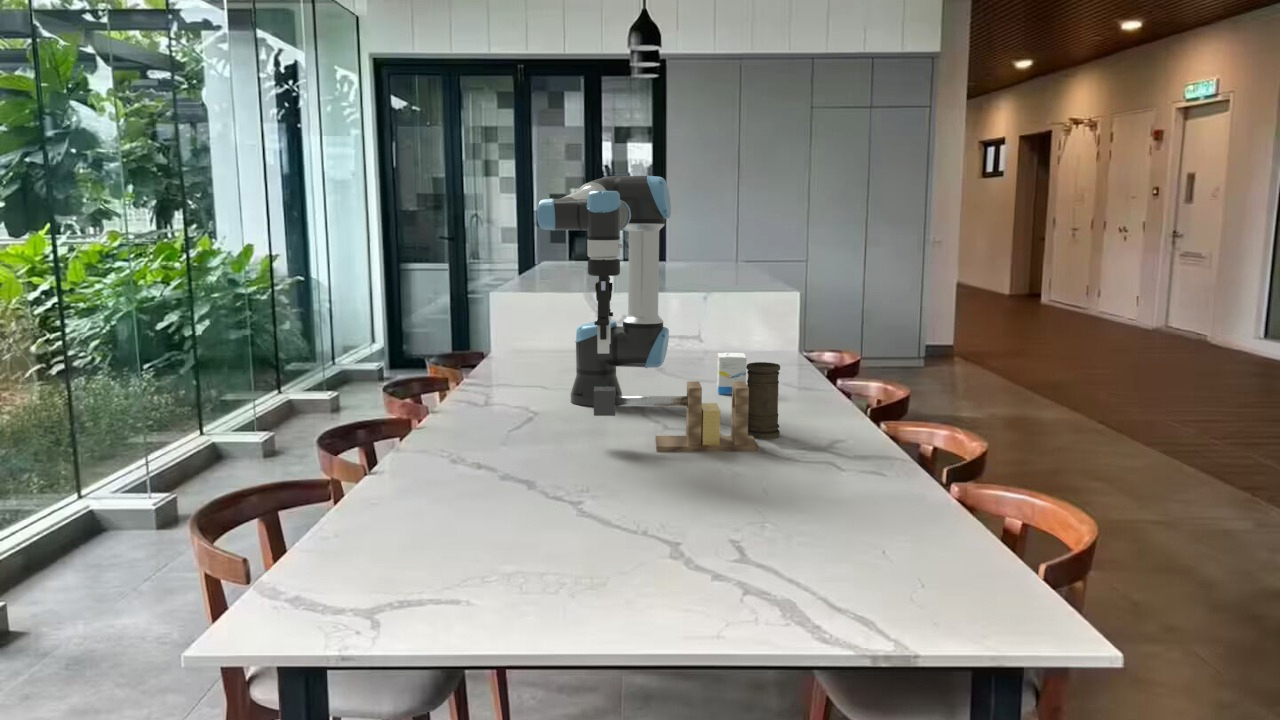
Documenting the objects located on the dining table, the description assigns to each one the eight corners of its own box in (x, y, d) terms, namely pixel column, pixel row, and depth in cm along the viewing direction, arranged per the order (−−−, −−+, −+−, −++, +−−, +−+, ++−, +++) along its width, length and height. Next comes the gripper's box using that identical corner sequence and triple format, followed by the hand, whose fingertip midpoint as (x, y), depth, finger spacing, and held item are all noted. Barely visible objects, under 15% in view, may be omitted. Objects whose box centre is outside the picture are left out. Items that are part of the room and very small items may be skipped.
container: (778, 440, 227) (781, 368, 224) (742, 438, 229) (743, 367, 226) (780, 431, 236) (782, 362, 233) (745, 429, 238) (747, 360, 235)
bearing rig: (656, 451, 217) (657, 389, 214) (655, 440, 227) (655, 380, 224) (758, 451, 217) (760, 389, 215) (752, 440, 227) (754, 380, 224)
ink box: (746, 395, 279) (747, 357, 277) (718, 394, 280) (718, 356, 278) (743, 389, 288) (744, 352, 286) (716, 389, 288) (717, 352, 286)
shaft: (593, 415, 218) (593, 390, 217) (594, 410, 223) (594, 386, 222) (697, 415, 218) (697, 391, 217) (695, 411, 223) (696, 386, 222)
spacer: (702, 445, 218) (703, 410, 216) (699, 436, 226) (700, 403, 224) (719, 445, 218) (720, 410, 216) (716, 436, 226) (716, 403, 224)
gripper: (619, 262, 202) (619, 357, 206) (620, 254, 226) (620, 340, 230) (585, 262, 202) (585, 357, 205) (589, 254, 226) (590, 340, 230)
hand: (604, 348), depth 218 cm, fingers open, 13 cm apart
